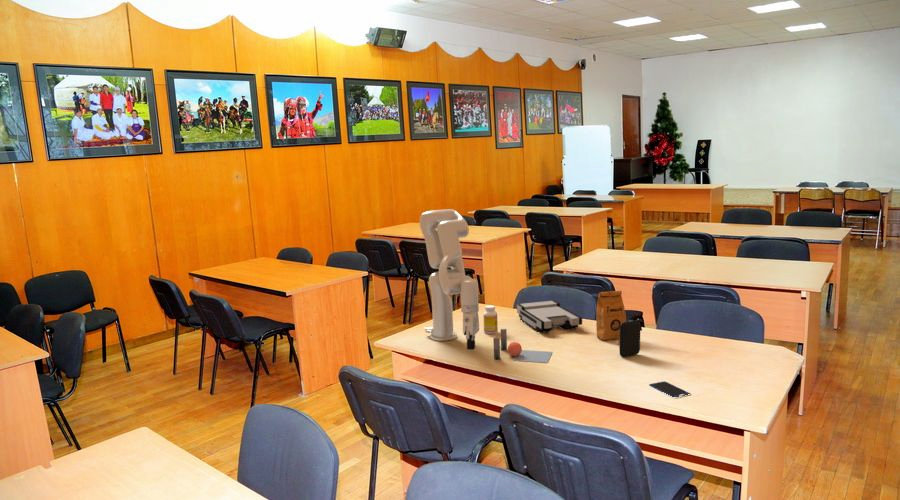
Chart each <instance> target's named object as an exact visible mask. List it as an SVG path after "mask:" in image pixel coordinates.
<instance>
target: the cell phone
mask: <svg viewBox="0 0 900 500" xmlns="http://www.w3.org/2000/svg"><path fill="white" fill-rule="evenodd" d="M648 386H650V387H651V388H653V389H655V390H657V391H659V392H661V393H663V392H664V393H663V394H665V393H666V394H665V395H667V394H668V395H667V396H669V395H670V396H669V397H671V396H672V397H671V398H673V397H679V396H685V395H688V394H691V393H690V392H688V391H686V390H684V389H682V388H680V387H678V386H676V385H674V384H673V383H672V384H671V383H670V382H667V381H659V382H653V383H650V384H648ZM685 397H686V396H685Z"/></svg>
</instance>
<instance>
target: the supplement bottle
mask: <svg viewBox="0 0 900 500" xmlns="http://www.w3.org/2000/svg"><path fill="white" fill-rule="evenodd" d="M484 308H485V311H484V312H483V313H482V315H483V332H484V333H485V334H486V335H487V334H488V335H493V334H494V335H496V334H497V333H498V331H499V330H498V329H499V328H498V327H499V326H498V325H499V324H498V312H497V311H496V306H495V305H491V304H490V305H485V307H484Z"/></svg>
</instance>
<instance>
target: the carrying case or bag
mask: <svg viewBox="0 0 900 500" xmlns="http://www.w3.org/2000/svg"><path fill="white" fill-rule="evenodd" d="M642 331H643V328H642V325H641V323H640V322H639V320H636V319H635V320H631V321H626V322H623V323H621V325H620V339H618V340H619V341H618V342H619V345H618V346H619V350H618V351H619V356H620V357H622V358H627V357H632V356H633V357H634V356H637V355H638V354H639V353H640V350H641V332H642Z"/></svg>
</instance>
